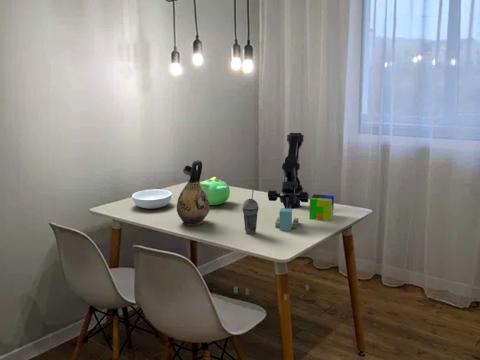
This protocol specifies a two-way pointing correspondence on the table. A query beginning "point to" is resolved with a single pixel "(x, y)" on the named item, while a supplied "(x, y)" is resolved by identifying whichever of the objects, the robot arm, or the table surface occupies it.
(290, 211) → the block
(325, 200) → the puzzle toy
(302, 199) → the robot arm
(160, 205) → the serving bowl
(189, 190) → the ceramic jug
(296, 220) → the chute
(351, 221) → the table surface
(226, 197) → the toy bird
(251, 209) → the beverage cup
